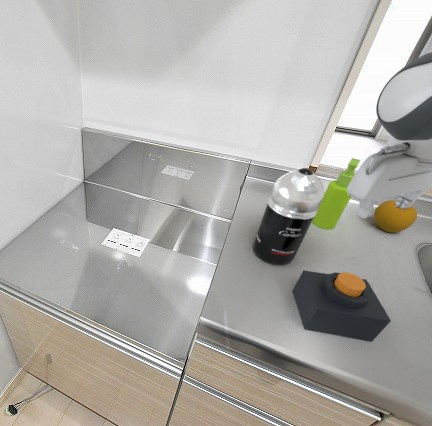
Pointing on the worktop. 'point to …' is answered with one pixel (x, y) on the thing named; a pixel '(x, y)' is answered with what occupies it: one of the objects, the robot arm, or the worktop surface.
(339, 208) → the soap dispenser
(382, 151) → the robot arm
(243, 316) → the worktop surface
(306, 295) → the button base
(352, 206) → the worktop surface
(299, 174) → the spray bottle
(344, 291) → the orange disc
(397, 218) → the apple
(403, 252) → the worktop surface
